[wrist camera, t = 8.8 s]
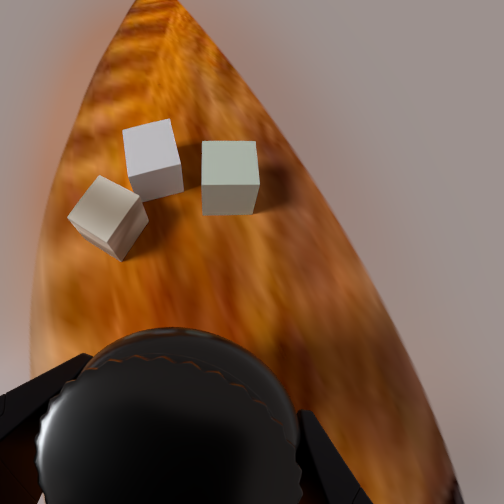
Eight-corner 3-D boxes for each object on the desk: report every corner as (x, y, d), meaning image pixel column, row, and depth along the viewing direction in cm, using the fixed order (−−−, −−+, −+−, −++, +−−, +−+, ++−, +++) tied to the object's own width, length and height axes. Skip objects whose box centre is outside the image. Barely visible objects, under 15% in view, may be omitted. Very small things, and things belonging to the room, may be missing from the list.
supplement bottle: (170, 487, 13) (113, 631, 2) (109, 379, 15) (-53, 367, 4) (282, 434, 15) (409, 521, 4) (220, 326, 17) (235, 225, 6)
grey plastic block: (184, 192, 26) (180, 163, 22) (138, 204, 25) (128, 177, 21) (173, 148, 28) (169, 118, 24) (131, 158, 27) (122, 130, 23)
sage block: (252, 214, 26) (259, 184, 22) (202, 215, 25) (201, 185, 21) (248, 174, 27) (255, 141, 23) (202, 175, 27) (202, 141, 23)
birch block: (121, 262, 23) (106, 242, 19) (85, 239, 23) (67, 217, 20) (149, 221, 25) (139, 195, 21) (112, 201, 25) (99, 175, 21)
